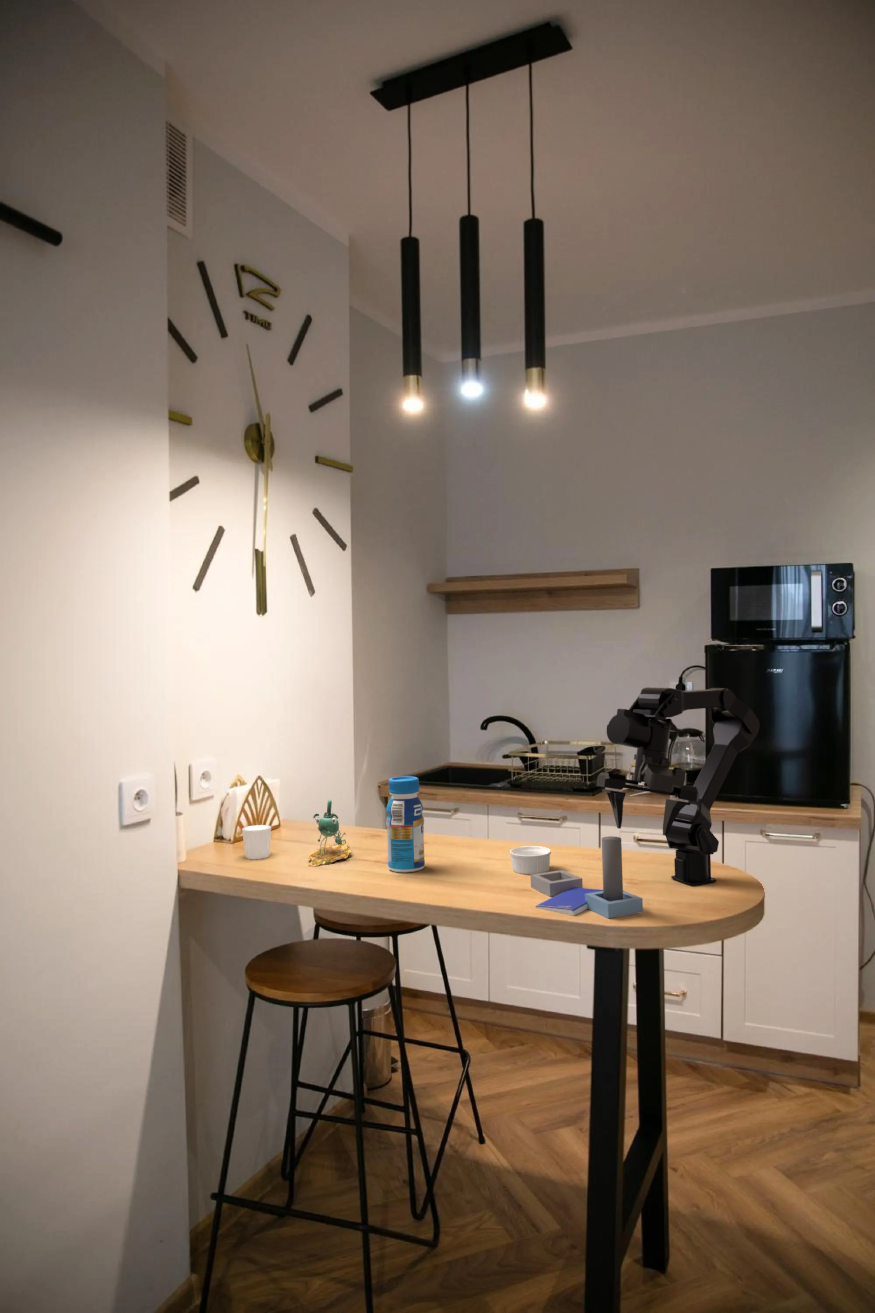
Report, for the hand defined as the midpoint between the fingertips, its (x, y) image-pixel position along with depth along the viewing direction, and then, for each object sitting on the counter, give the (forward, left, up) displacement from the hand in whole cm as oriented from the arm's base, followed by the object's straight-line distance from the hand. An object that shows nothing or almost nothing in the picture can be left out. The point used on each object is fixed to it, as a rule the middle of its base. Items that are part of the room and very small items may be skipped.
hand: (641, 832), depth 166 cm
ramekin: (+10, -27, -12) cm, 31 cm away
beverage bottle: (+33, -42, -12) cm, 54 cm away
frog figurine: (+44, -60, -12) cm, 76 cm away
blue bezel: (+11, +5, -12) cm, 17 cm away
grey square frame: (+13, -11, -12) cm, 21 cm away
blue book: (+15, -2, -13) cm, 20 cm away
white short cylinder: (+60, -71, -12) cm, 93 cm away
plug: (+11, +5, -12) cm, 17 cm away
